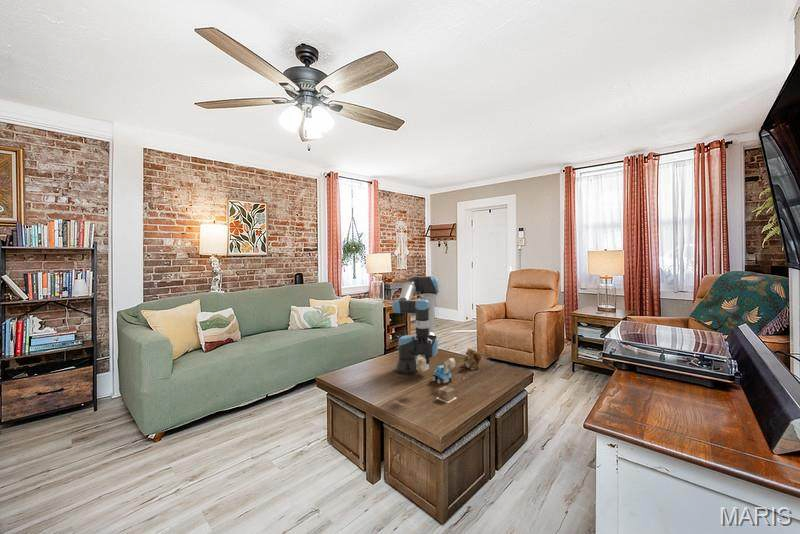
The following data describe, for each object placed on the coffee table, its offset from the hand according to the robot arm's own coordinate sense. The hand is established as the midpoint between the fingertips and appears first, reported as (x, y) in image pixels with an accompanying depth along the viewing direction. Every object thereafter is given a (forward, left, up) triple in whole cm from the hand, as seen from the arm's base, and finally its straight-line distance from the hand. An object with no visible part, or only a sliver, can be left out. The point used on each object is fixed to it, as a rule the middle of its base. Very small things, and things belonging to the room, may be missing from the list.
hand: (422, 367), depth 187 cm
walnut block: (+15, +2, -13) cm, 20 cm away
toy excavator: (+1, +19, -15) cm, 24 cm away
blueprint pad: (+13, +4, -14) cm, 20 cm away
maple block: (0, 0, -1) cm, 1 cm away
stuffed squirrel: (-2, +55, -15) cm, 57 cm away
